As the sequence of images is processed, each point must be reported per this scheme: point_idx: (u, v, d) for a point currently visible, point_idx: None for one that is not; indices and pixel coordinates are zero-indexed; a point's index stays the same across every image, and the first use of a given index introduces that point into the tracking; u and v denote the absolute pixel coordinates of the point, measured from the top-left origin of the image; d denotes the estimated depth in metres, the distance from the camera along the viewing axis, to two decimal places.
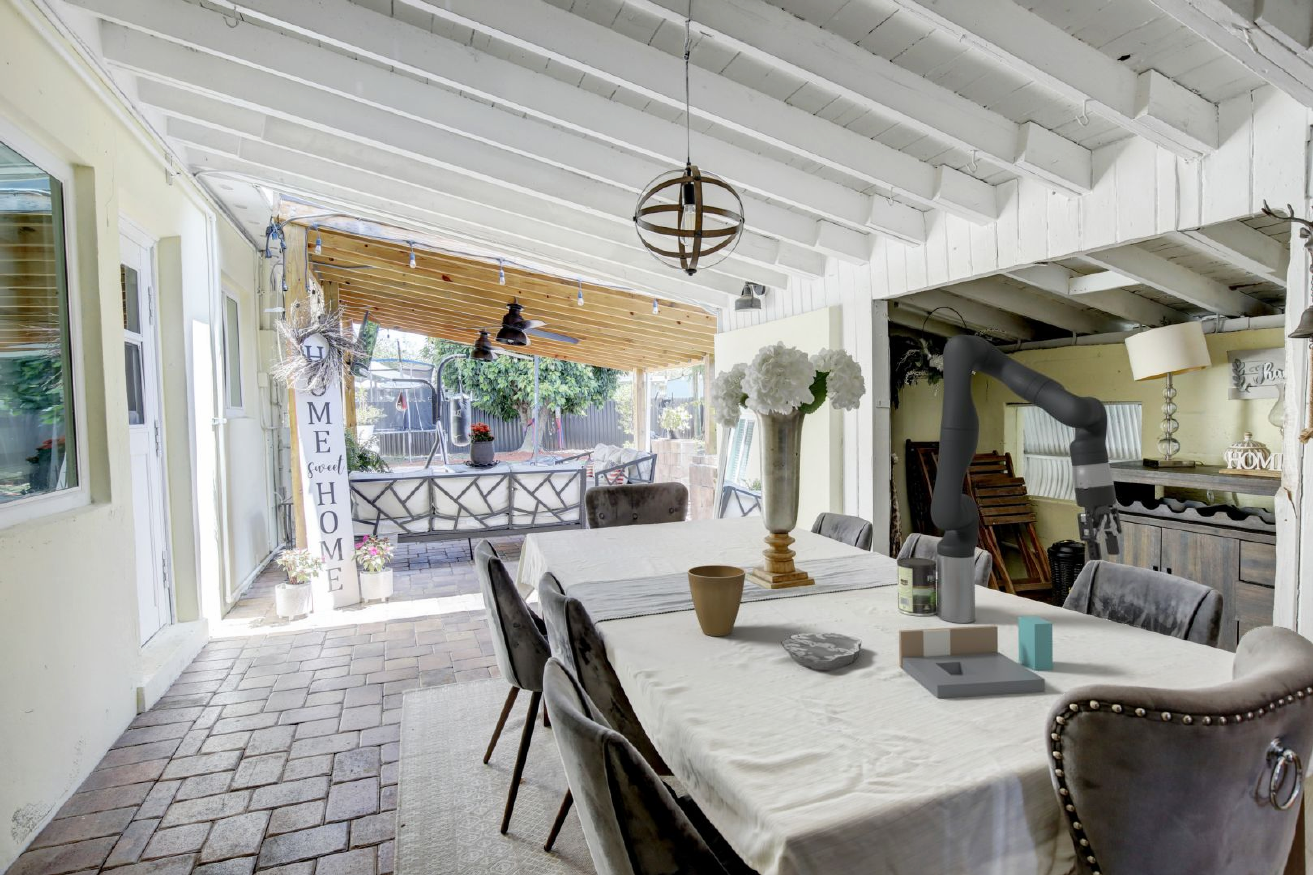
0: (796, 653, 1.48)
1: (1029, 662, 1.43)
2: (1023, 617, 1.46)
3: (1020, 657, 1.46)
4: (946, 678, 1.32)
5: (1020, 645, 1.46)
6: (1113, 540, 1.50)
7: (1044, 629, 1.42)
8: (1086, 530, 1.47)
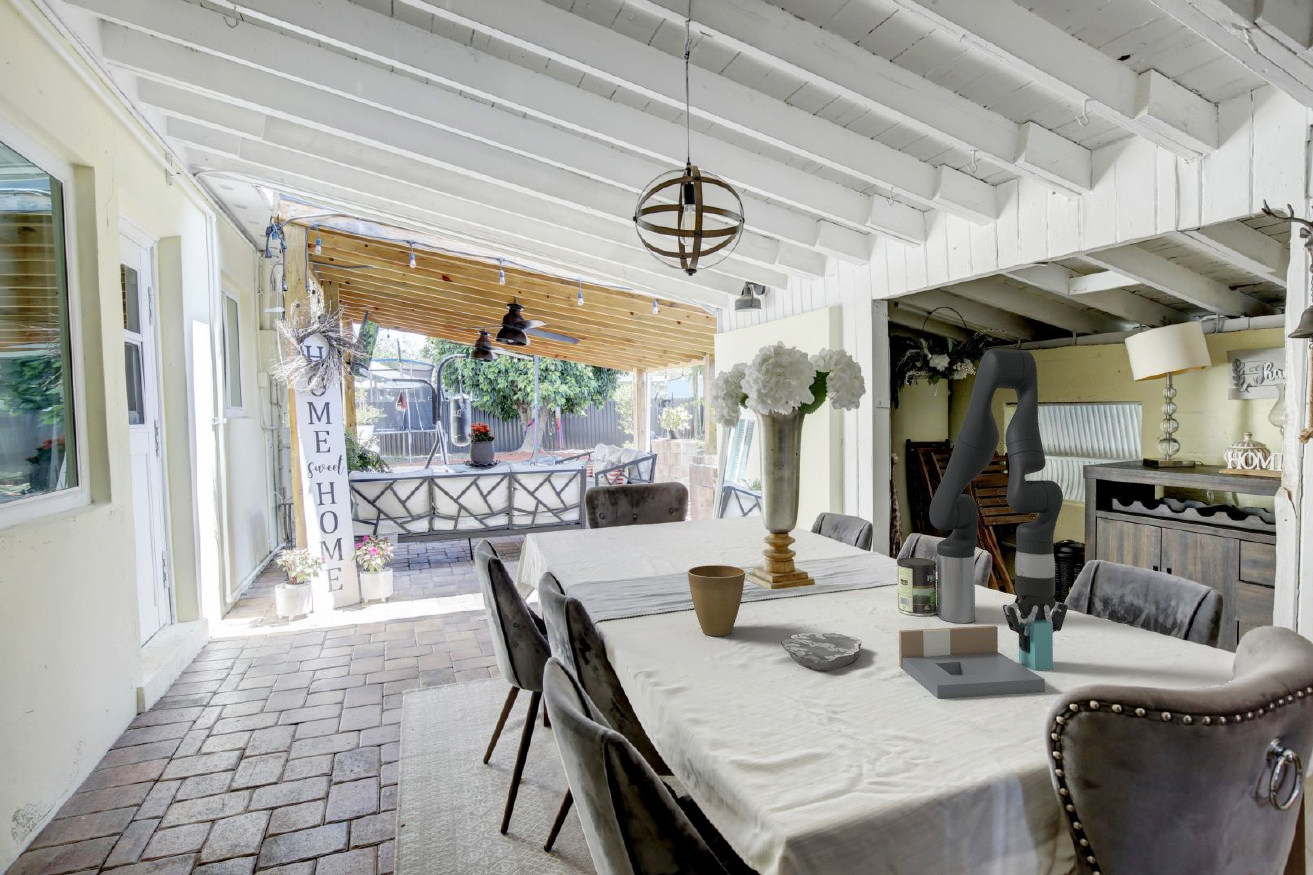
0: (796, 653, 1.48)
1: (1029, 662, 1.43)
2: None
3: (1020, 657, 1.46)
4: (946, 678, 1.32)
5: None
6: None
7: (1044, 629, 1.42)
8: (1019, 620, 1.45)
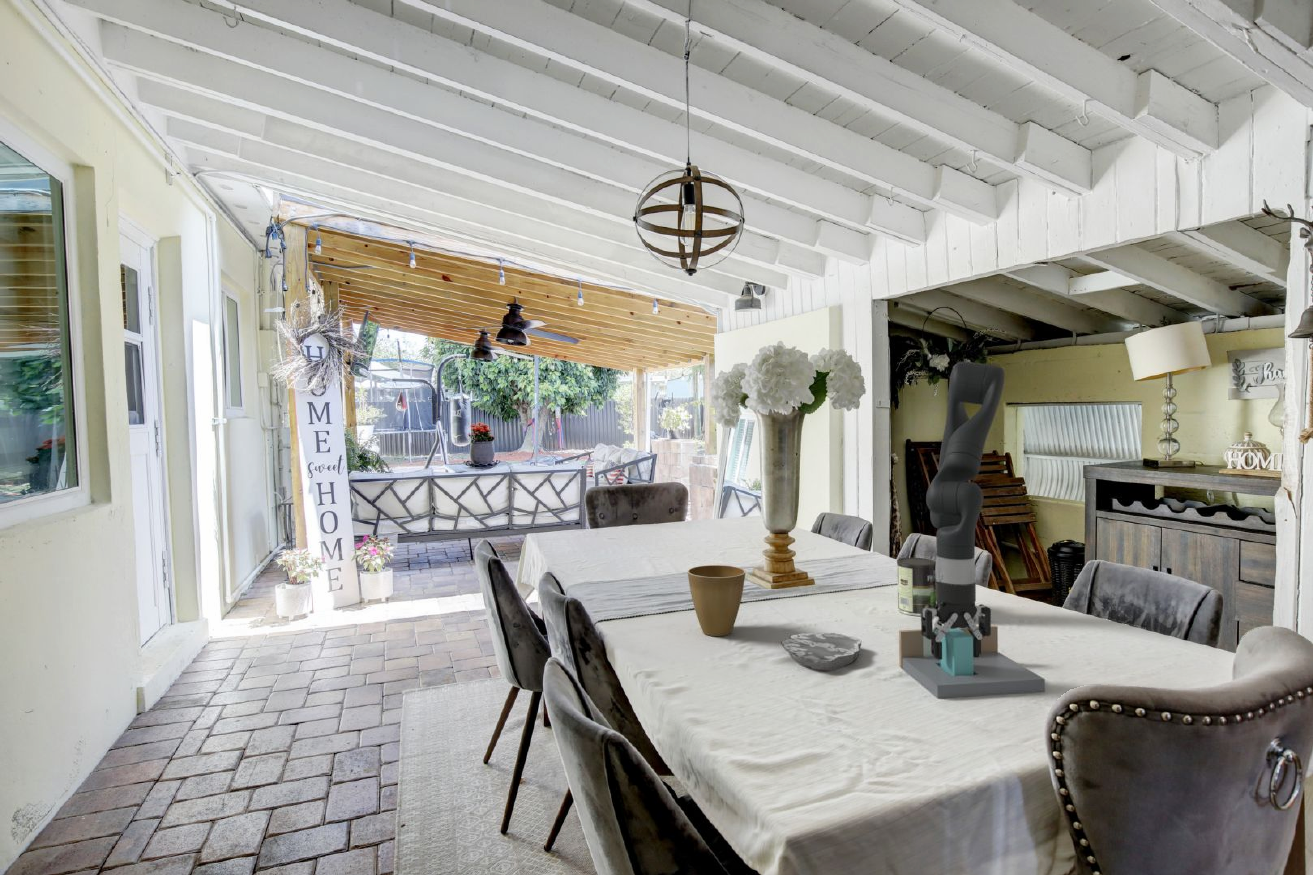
0: (796, 653, 1.48)
1: None
2: None
3: None
4: (946, 678, 1.32)
5: (942, 659, 1.39)
6: (974, 641, 1.37)
7: (964, 643, 1.34)
8: (935, 625, 1.38)
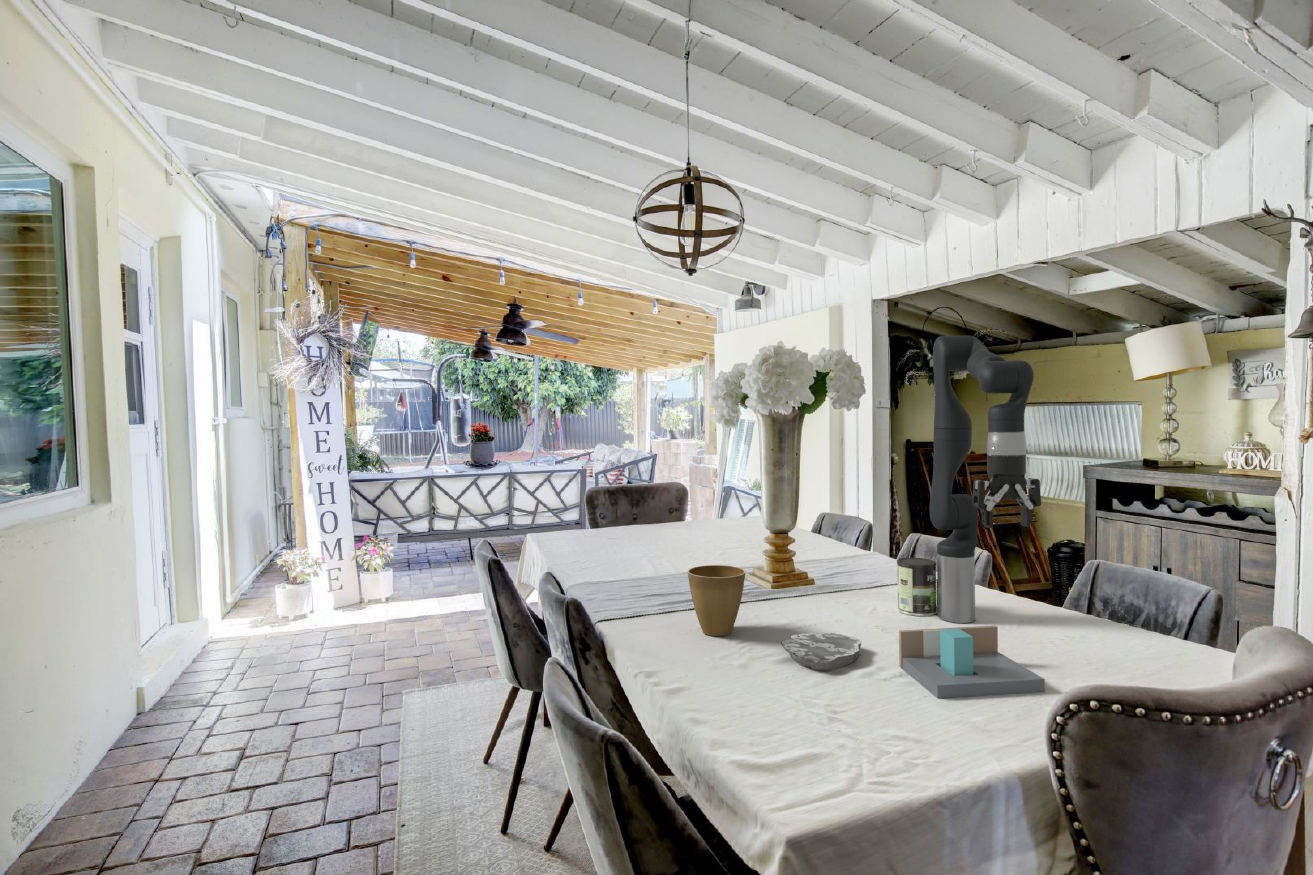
0: (796, 653, 1.48)
1: None
2: (945, 630, 1.39)
3: None
4: (946, 678, 1.32)
5: (942, 659, 1.39)
6: (1025, 511, 1.45)
7: (964, 643, 1.34)
8: (986, 497, 1.46)
